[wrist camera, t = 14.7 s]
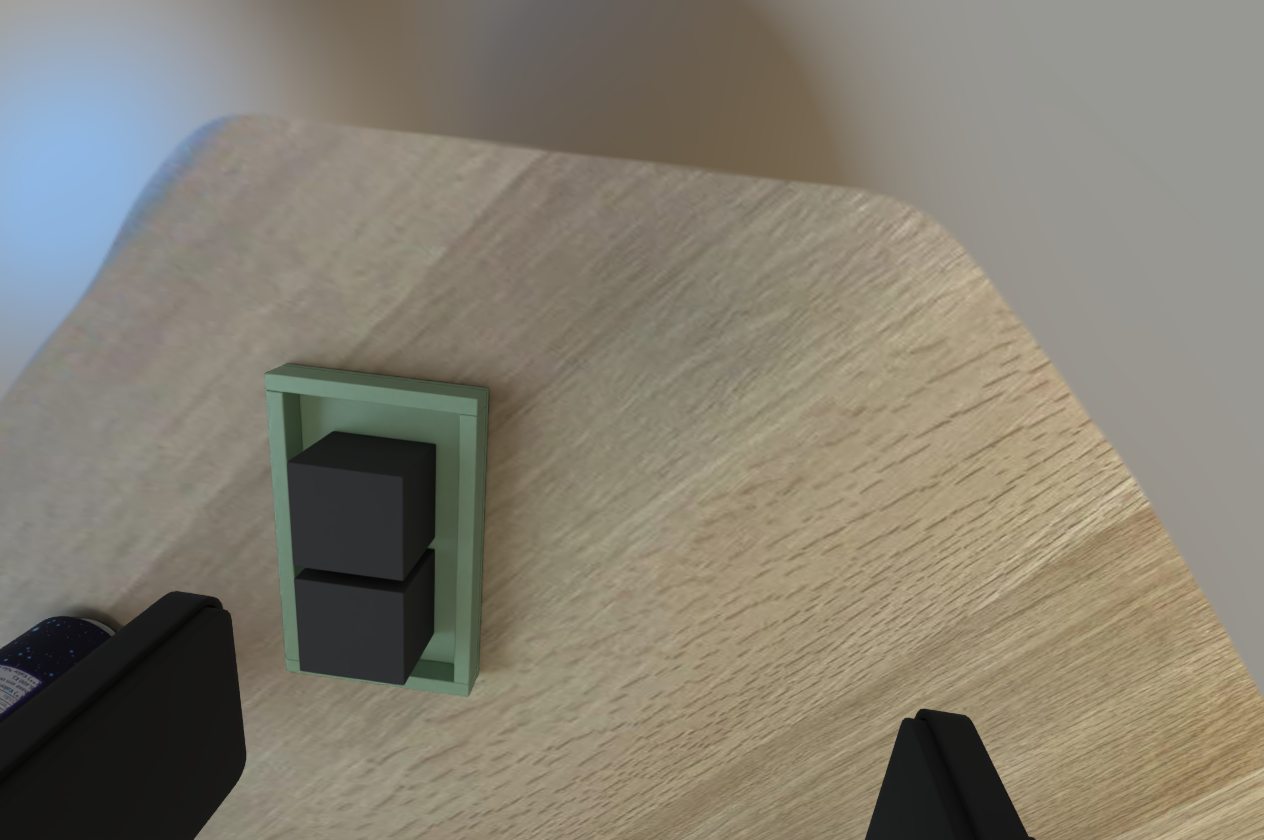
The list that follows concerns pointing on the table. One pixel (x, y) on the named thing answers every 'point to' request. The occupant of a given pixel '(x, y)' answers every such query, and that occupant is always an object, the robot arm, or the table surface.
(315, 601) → the black block
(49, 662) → the beverage can
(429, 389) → the tray
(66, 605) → the table surface
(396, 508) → the black cube
